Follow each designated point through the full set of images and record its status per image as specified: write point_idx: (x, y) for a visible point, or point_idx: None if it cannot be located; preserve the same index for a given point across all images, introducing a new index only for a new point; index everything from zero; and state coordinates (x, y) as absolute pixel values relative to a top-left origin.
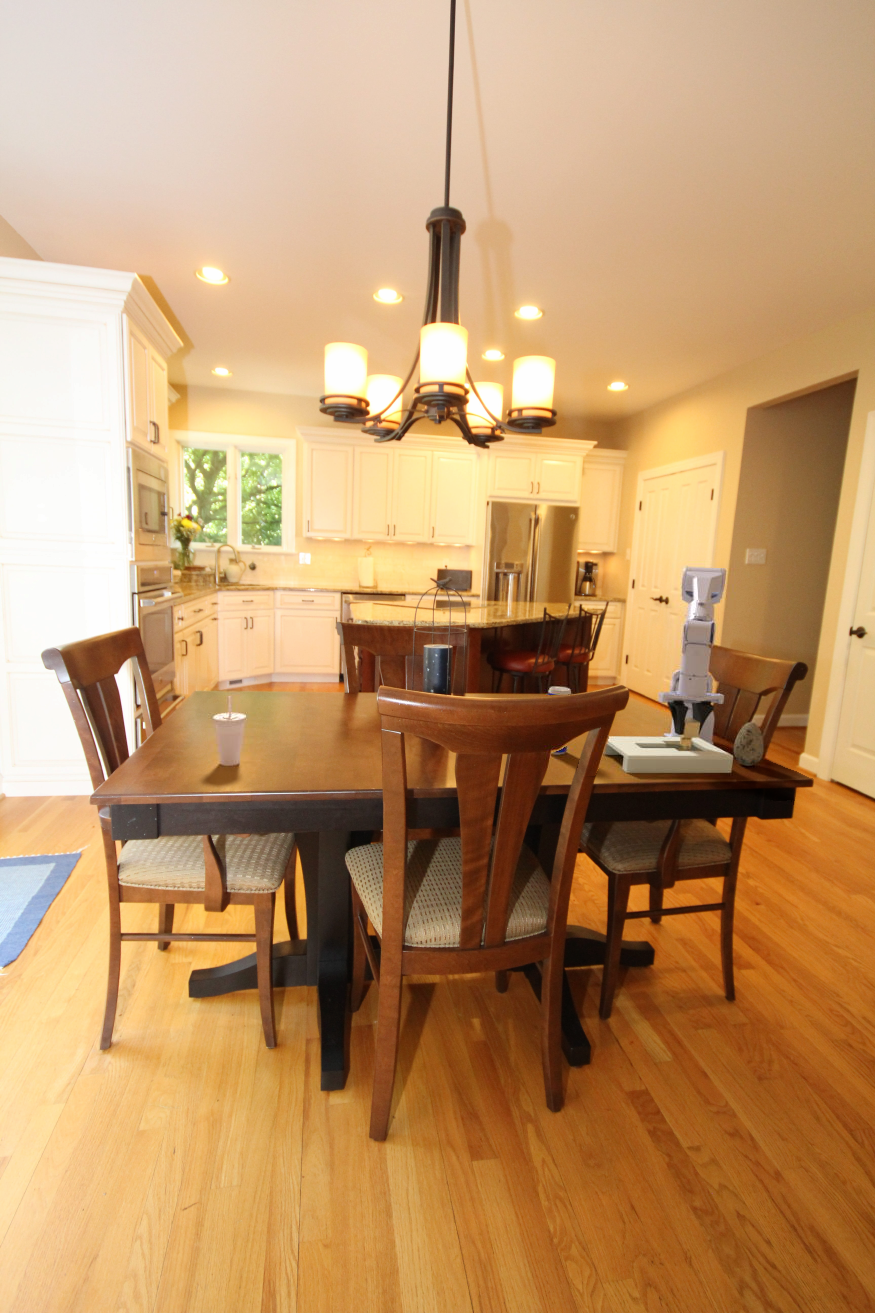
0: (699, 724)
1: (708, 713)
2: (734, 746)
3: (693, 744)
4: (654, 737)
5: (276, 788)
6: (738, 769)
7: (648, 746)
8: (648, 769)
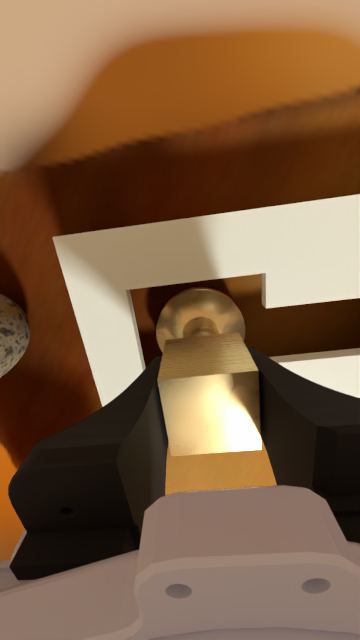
0: (161, 373)
1: (91, 422)
2: (13, 350)
3: None
4: None
5: None
6: (45, 274)
7: (329, 351)
8: None
